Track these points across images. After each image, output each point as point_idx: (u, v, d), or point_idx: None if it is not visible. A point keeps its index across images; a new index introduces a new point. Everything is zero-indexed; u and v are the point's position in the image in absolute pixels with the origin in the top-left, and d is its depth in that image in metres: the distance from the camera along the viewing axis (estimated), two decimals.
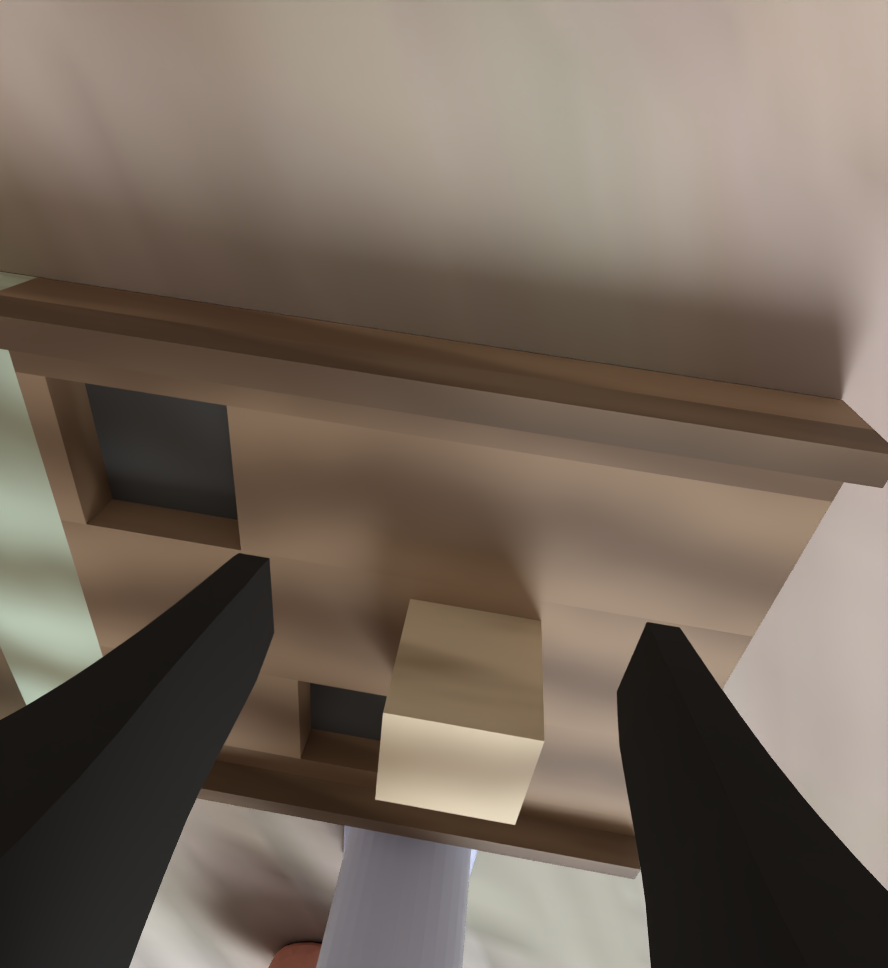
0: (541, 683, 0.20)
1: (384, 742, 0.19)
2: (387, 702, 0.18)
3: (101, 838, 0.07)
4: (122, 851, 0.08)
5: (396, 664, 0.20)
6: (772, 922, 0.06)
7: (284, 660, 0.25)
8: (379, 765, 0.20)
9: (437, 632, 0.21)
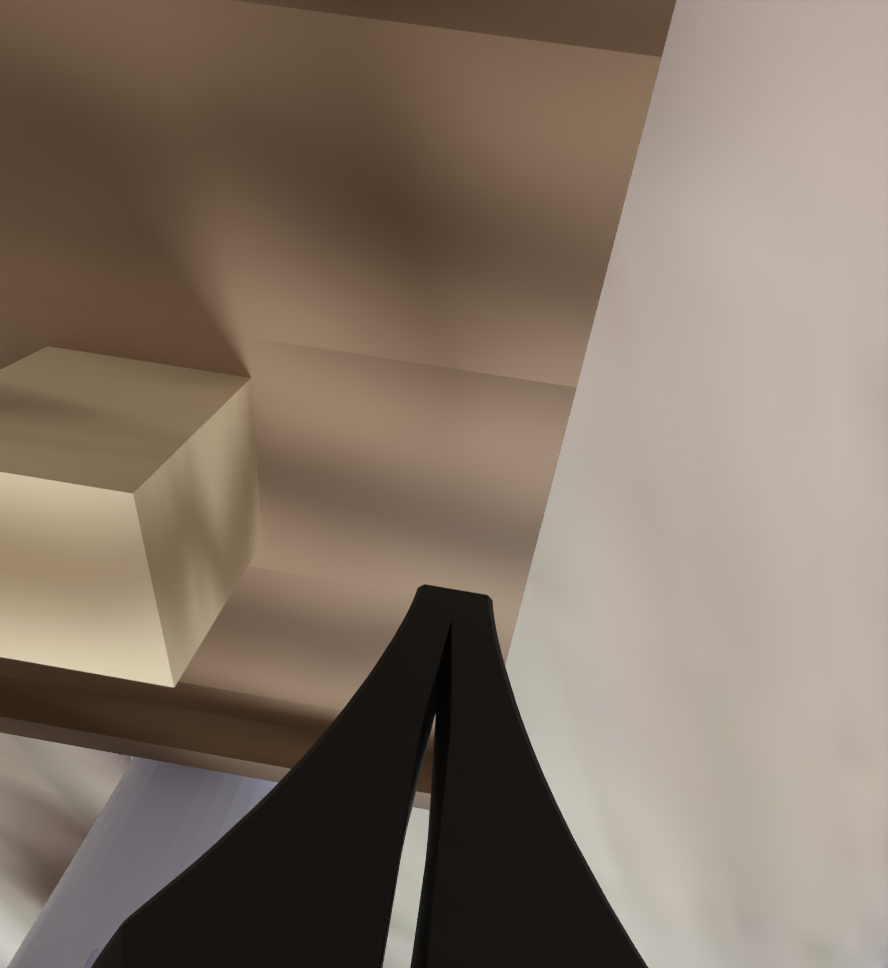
0: (191, 433, 0.12)
1: None
2: None
3: None
4: None
5: None
6: (437, 858, 0.06)
7: None
8: None
9: (57, 376, 0.13)
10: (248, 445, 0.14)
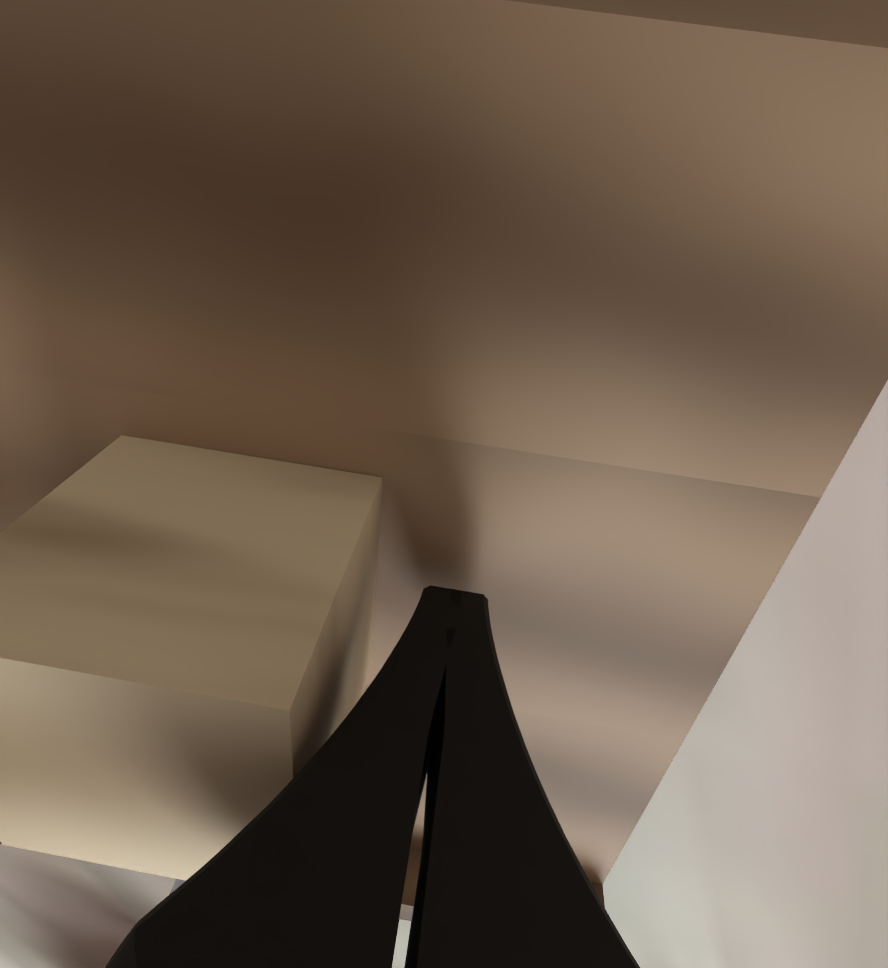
0: (337, 582, 0.08)
1: None
2: None
3: None
4: None
5: None
6: (428, 856, 0.06)
7: None
8: None
9: (143, 486, 0.10)
10: (373, 558, 0.11)
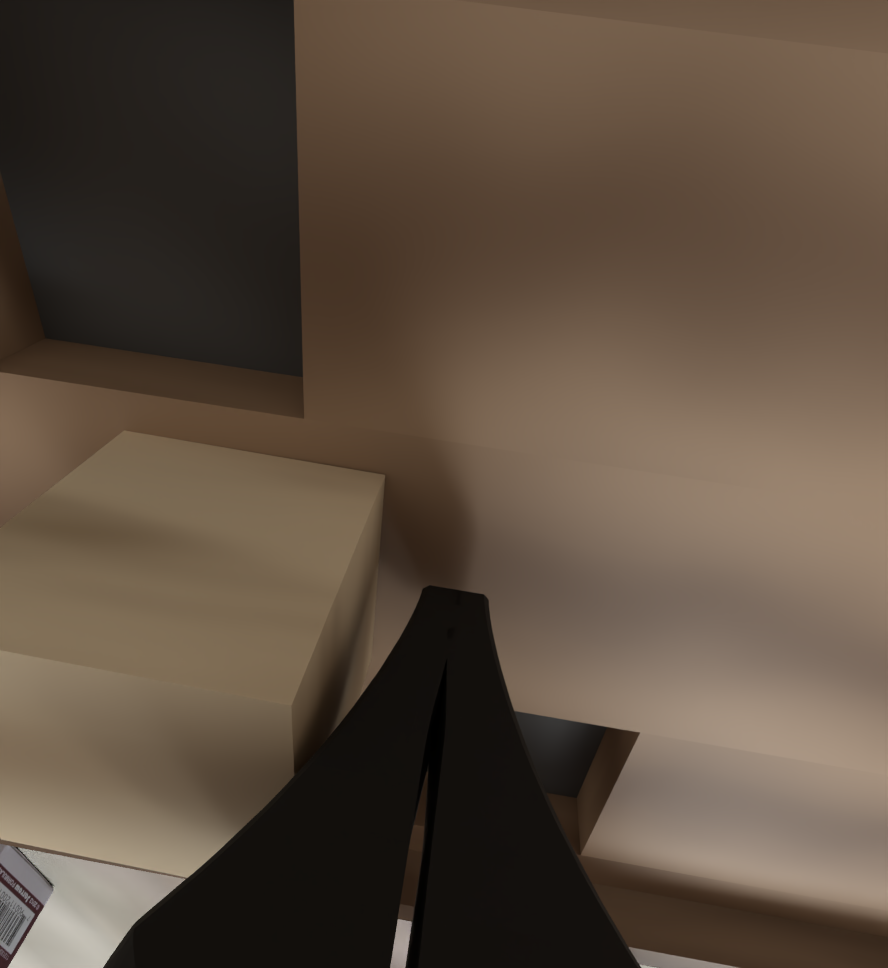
0: (339, 578, 0.08)
1: None
2: None
3: None
4: None
5: (1, 530, 0.08)
6: (429, 857, 0.06)
7: None
8: None
9: (145, 481, 0.10)
10: (375, 556, 0.11)
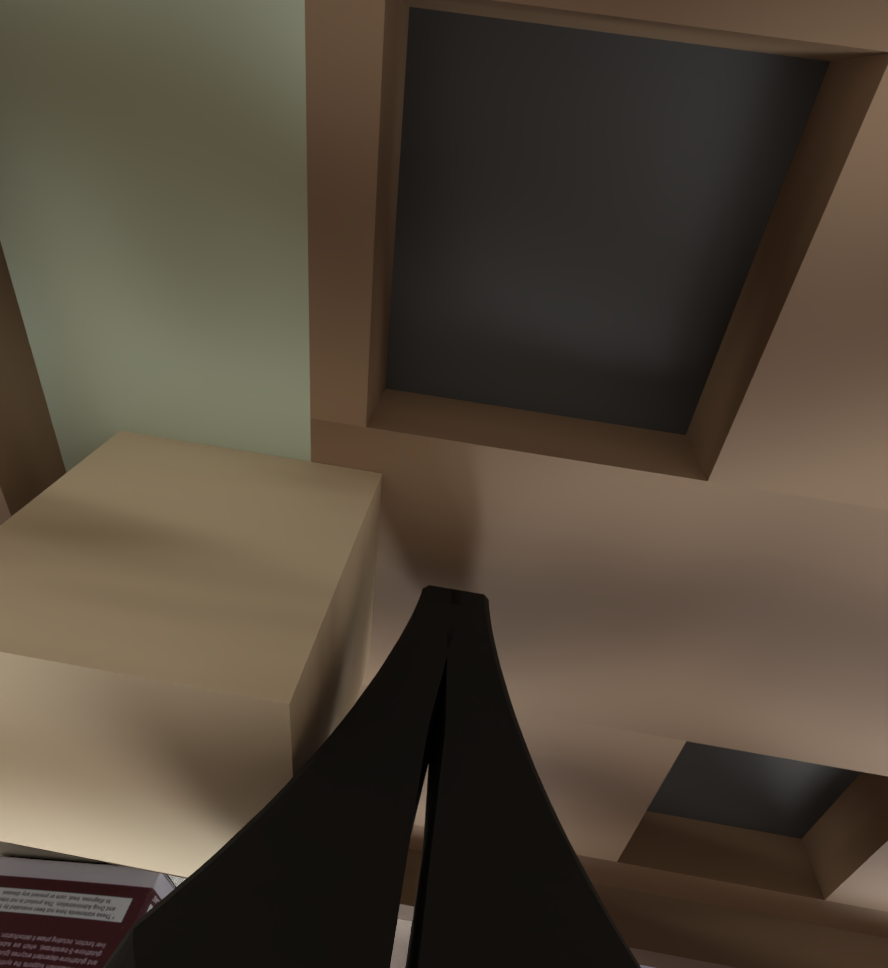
0: (336, 577, 0.08)
1: None
2: None
3: None
4: None
5: None
6: (430, 857, 0.06)
7: (679, 706, 0.13)
8: None
9: (141, 481, 0.10)
10: (372, 554, 0.11)
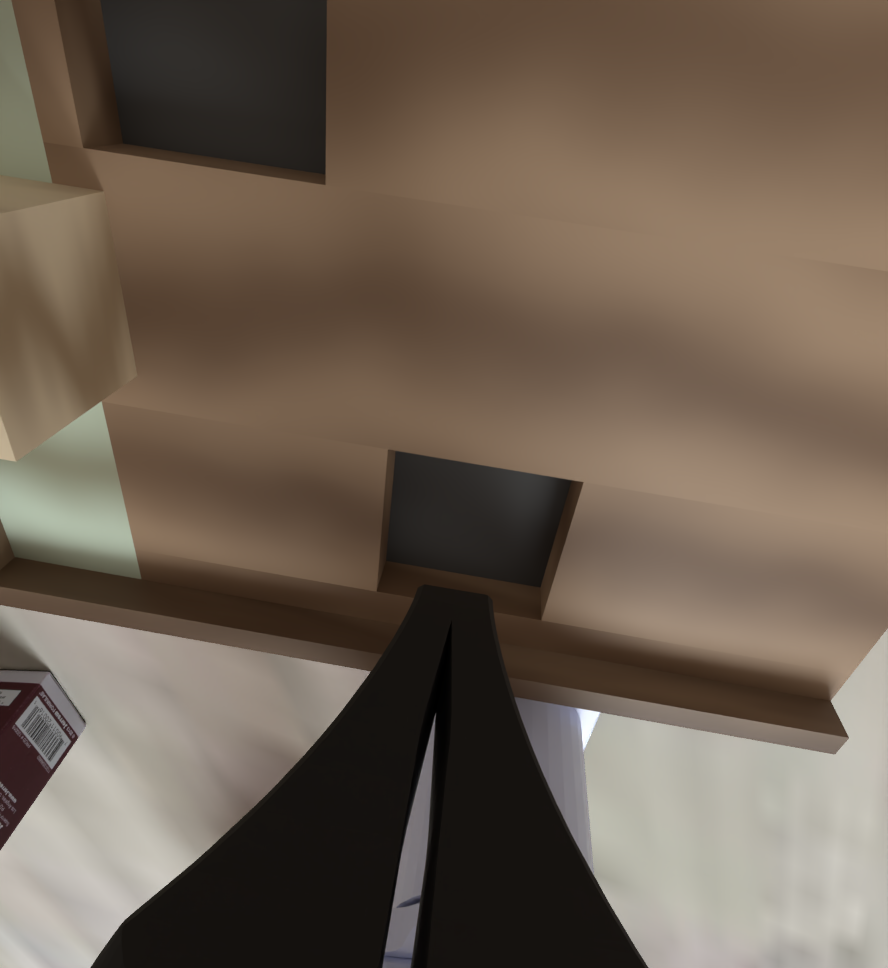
0: (19, 208, 0.12)
1: None
2: None
3: None
4: (392, 902, 0.07)
5: None
6: (436, 857, 0.06)
7: (372, 412, 0.17)
8: None
9: None
10: (106, 261, 0.15)
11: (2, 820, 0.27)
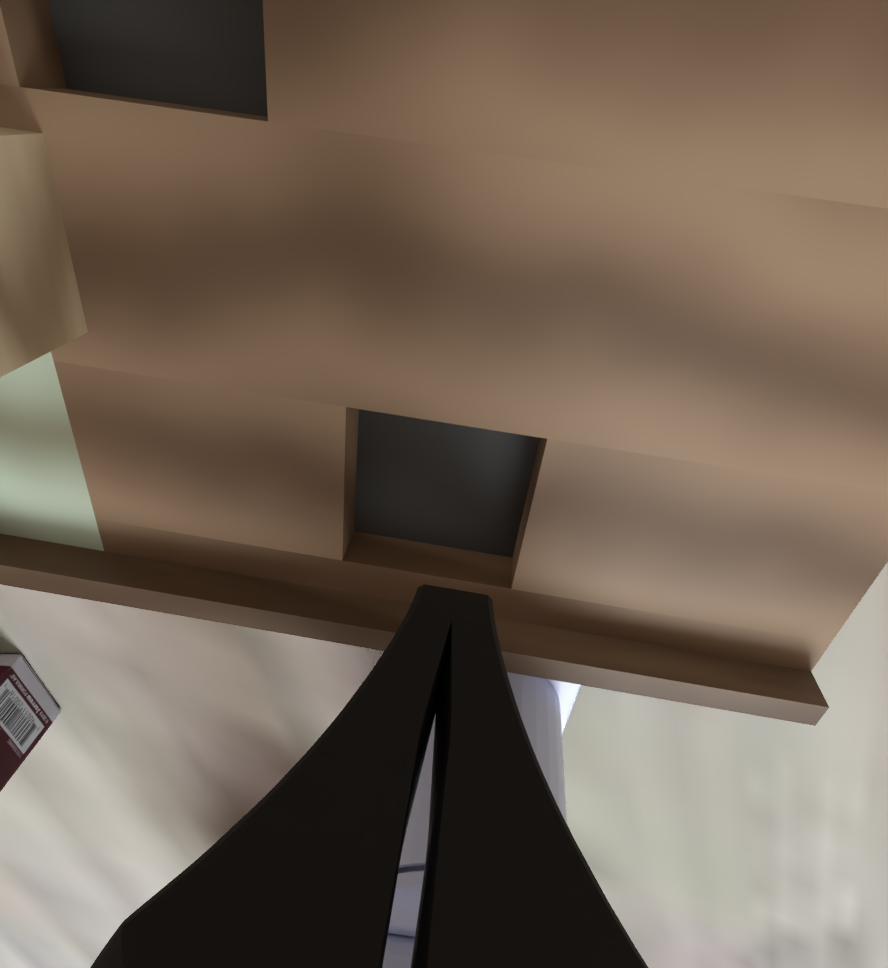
0: None
1: None
2: None
3: None
4: None
5: None
6: (436, 858, 0.06)
7: (327, 367, 0.17)
8: None
9: None
10: (48, 207, 0.15)
11: None
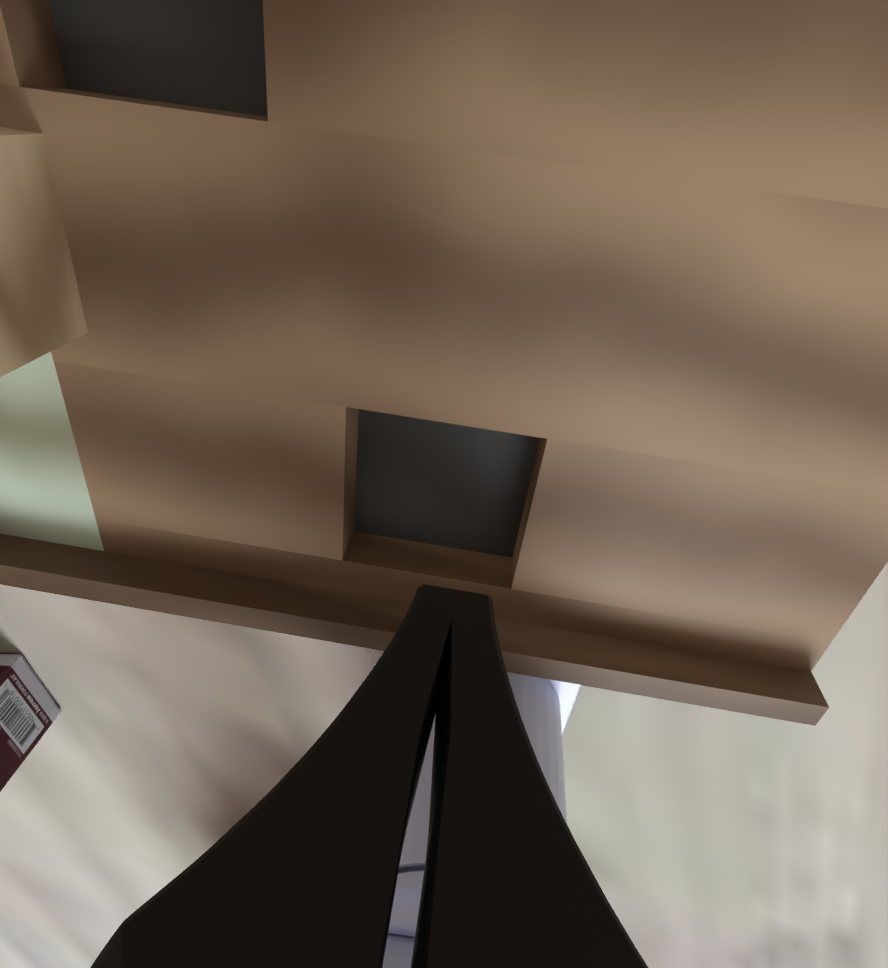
0: None
1: None
2: None
3: None
4: None
5: None
6: (436, 858, 0.06)
7: (327, 367, 0.17)
8: None
9: None
10: (48, 207, 0.15)
11: None
